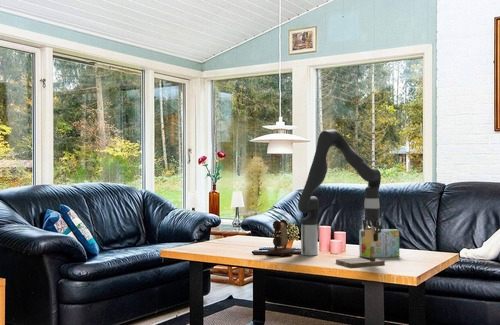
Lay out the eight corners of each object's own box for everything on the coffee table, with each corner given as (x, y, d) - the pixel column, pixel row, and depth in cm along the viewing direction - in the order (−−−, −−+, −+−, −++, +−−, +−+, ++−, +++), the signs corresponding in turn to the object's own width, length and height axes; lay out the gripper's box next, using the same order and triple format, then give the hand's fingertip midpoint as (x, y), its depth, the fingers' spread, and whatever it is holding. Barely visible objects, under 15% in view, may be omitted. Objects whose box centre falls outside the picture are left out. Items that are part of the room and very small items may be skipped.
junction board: (336, 263, 284) (335, 245, 284) (368, 260, 292) (368, 243, 292) (350, 267, 271) (350, 249, 271) (384, 264, 279) (384, 247, 279)
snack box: (396, 255, 310) (396, 228, 310) (399, 257, 304) (399, 229, 304) (359, 256, 309) (359, 229, 309) (361, 257, 303) (361, 230, 303)
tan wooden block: (364, 241, 282) (364, 229, 282) (373, 240, 284) (373, 229, 285) (370, 242, 277) (370, 230, 277) (379, 242, 279) (379, 230, 280)
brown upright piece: (284, 258, 303) (283, 221, 303) (262, 255, 312) (262, 220, 312) (298, 254, 314) (298, 219, 315) (277, 252, 323) (276, 218, 324)
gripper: (357, 206, 286) (358, 239, 286) (374, 208, 273) (374, 242, 273) (369, 206, 289) (370, 238, 289) (386, 207, 276) (387, 241, 276)
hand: (372, 240), depth 281 cm, fingers closed on tan wooden block, 5 cm apart
